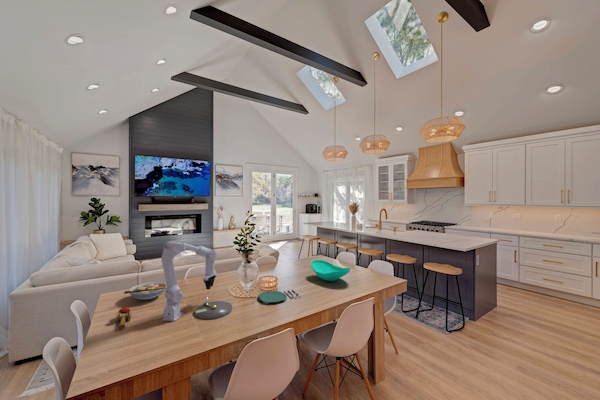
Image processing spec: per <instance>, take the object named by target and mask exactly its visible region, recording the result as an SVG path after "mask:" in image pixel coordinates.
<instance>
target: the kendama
mask: <svg viewBox="0 0 600 400" xmlns="http://www.w3.org/2000/svg"><path fill="white" fill-rule="evenodd" d="M132 314H133V312H132V310H131V309H130V308H129V307H127V306H125V307H122V308H120V309H119V310H118V312H117V313H116V317H115V321H116V322H119V321H120V322H119V324H118V327H117V328H118V330H120V331H121V330H124V329H126V320H127V322H128V321H131V318H132Z"/></svg>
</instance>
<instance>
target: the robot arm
mask: <svg viewBox="0 0 600 400" xmlns="http://www.w3.org/2000/svg"><path fill="white" fill-rule="evenodd" d="M185 250H187V251H191V252H195V254H196V255H197V256H201V257H204V258H205V266H204V267H205V271H204V272H205V273H204V278H203V279H202V280H203V282H204V285H205V289H206V290H210V289H211V287H213V286H214V283H215V279H216V277H217V273H216V269H215V263H216V262H215V261H216V257H217V256H218V254H217V253H218V252H216V250H215V249H212V248H210V247H205V246H204V245H198V246H195V245H192V244H188V243H187V242H183V241H174V240H169V241H167V242H166V243H165V244H164V246H163V250H162V253H161V254H162V255H161V263H162V269H163V272H164V273H163V274H164V278H165V279H164V280H165V283H166V284H167V287H166V289H165V291H164V292H165V293H164V297H165V298H166V305H165V307H164V308H163V318H162V319H161V321H162V322H165V321H166V322H167V321H168V322H169V321H170V322H176V321H177V320H178V319H179V318H180V317H181V316H182V315H183V314H184V312H181V300H183V297H184V293H183V292H182V291H181V288H180V287H179V285H178V281H177V276H176V271H175V266H174V261H173V260H174V258H175V257H176V256H178V255H179V254H181V252H184V251H185Z"/></svg>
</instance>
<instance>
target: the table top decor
mask: <svg viewBox="0 0 600 400" xmlns="http://www.w3.org/2000/svg"><path fill="white" fill-rule="evenodd" d="M310 266H311V269H312V271H313V272H314V274H316V276H317V277H318V278H320V279H322V280H324V281H327V282H335V281H337V280H339V279H342V277H345V276H347V274H349V273H350V272H351V269H352V268H351V267H340V266H337V265H334V264H333V263H331V262H328V261H325V260H321V259H315V260H312V261H310Z"/></svg>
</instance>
